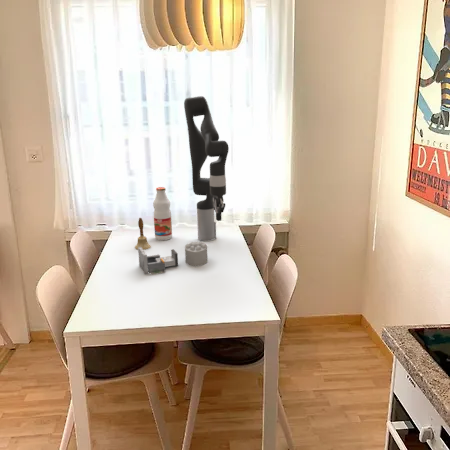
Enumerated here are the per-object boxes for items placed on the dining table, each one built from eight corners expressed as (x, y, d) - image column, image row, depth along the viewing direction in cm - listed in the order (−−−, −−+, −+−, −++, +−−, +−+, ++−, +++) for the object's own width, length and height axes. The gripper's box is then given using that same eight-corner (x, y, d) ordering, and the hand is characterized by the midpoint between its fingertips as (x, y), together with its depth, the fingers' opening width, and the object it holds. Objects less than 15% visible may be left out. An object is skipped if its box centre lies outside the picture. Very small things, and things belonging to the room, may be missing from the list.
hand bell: (149, 250, 253) (147, 220, 249) (133, 250, 254) (130, 220, 249) (152, 244, 261) (150, 215, 257) (136, 244, 261) (134, 215, 257)
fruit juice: (175, 236, 275) (172, 186, 267) (167, 241, 266) (164, 190, 258) (160, 234, 278) (156, 185, 270) (152, 239, 269) (148, 189, 261)
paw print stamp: (207, 256, 242) (207, 239, 240) (206, 266, 230) (206, 248, 228) (186, 256, 243) (185, 240, 240) (184, 266, 230) (183, 249, 228)
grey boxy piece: (174, 261, 236) (173, 249, 234) (180, 269, 226) (180, 256, 224) (155, 264, 232) (154, 252, 231) (161, 272, 223) (160, 259, 221)
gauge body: (159, 262, 236) (158, 244, 233) (166, 272, 224) (165, 253, 221) (139, 265, 233) (138, 247, 230) (145, 275, 221) (144, 256, 218)
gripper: (230, 186, 225) (231, 222, 230) (220, 181, 237) (221, 215, 242) (215, 187, 223) (216, 224, 228) (205, 182, 234) (206, 217, 239)
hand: (218, 220), depth 235 cm, fingers closed
